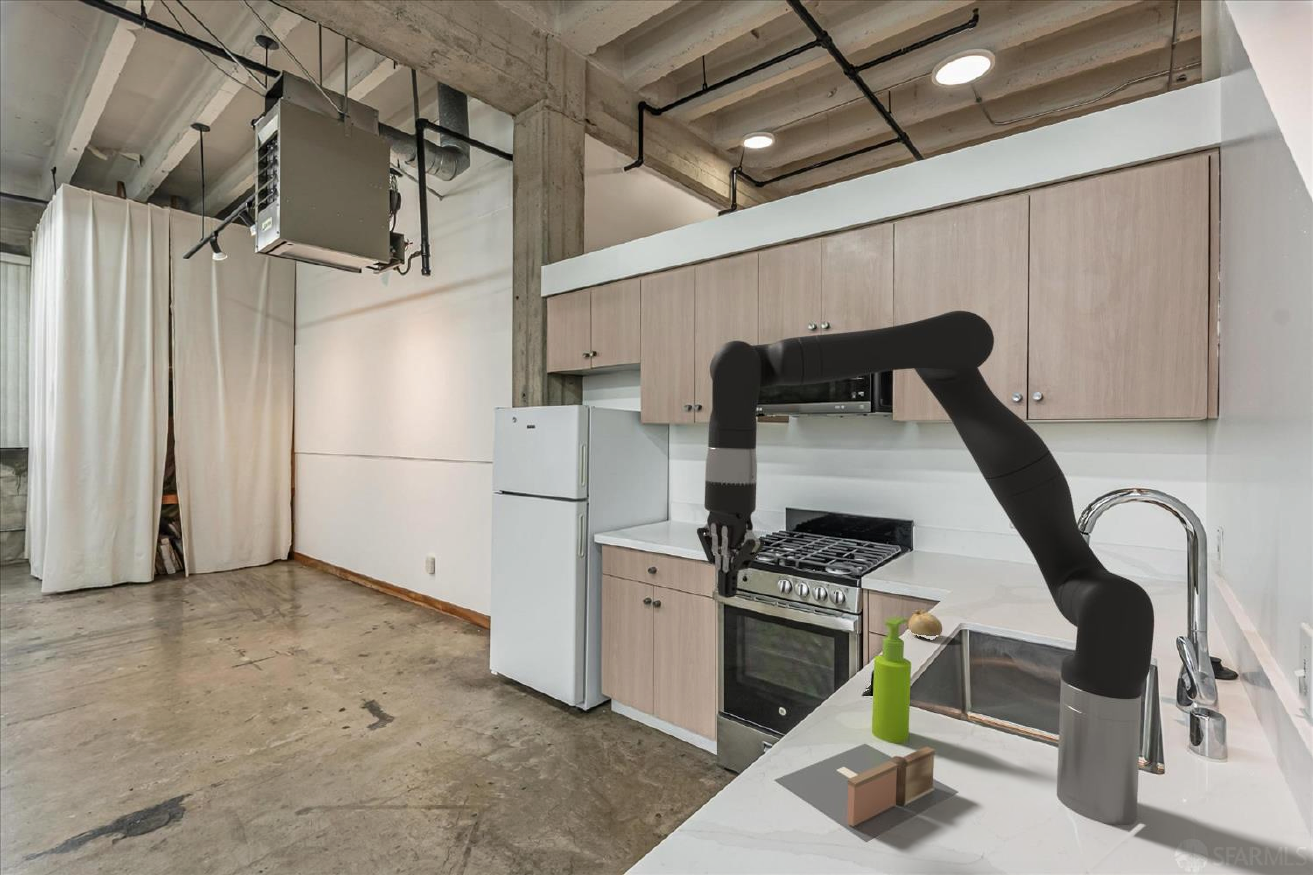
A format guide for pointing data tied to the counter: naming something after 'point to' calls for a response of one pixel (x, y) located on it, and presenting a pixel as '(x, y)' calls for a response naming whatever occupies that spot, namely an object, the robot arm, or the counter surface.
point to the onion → (925, 624)
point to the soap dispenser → (891, 688)
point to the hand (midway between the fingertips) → (726, 595)
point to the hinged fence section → (871, 792)
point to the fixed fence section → (914, 774)
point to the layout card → (830, 790)
